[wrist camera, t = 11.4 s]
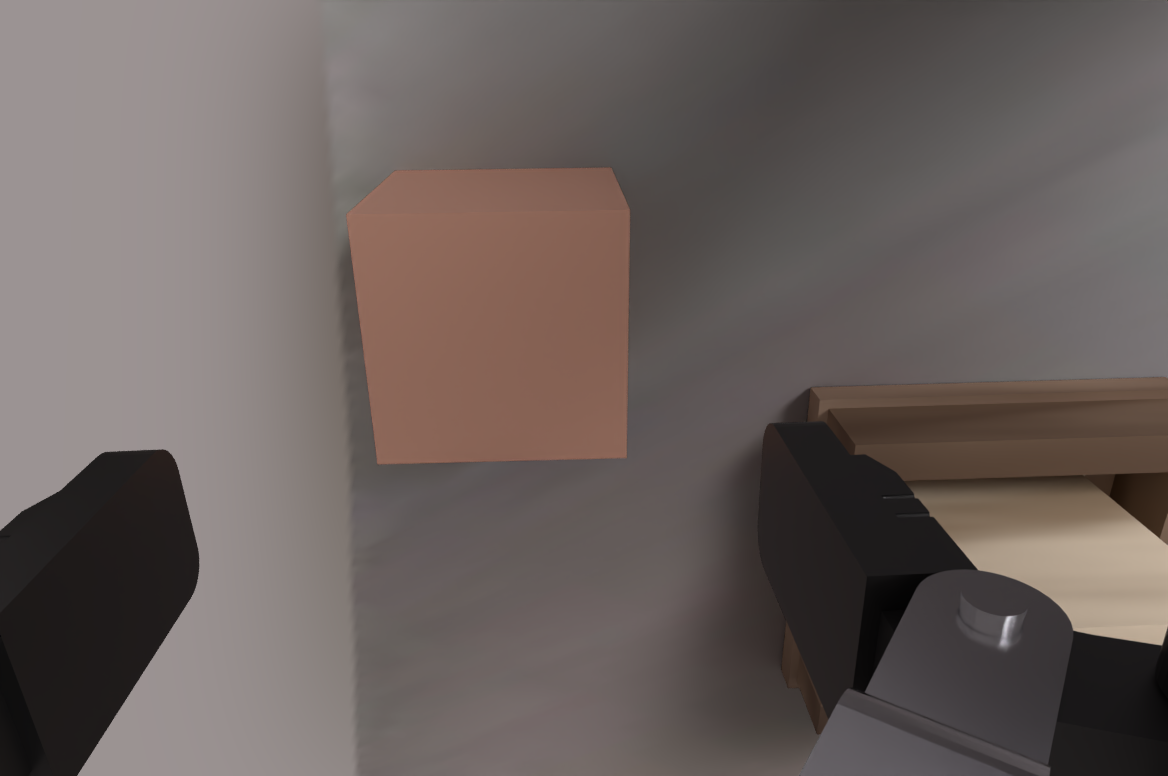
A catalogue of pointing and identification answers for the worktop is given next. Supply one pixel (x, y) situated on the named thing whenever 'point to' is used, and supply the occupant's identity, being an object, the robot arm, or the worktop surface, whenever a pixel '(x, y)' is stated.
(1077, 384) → the socket board
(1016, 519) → the base block
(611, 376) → the top block
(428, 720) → the worktop surface
